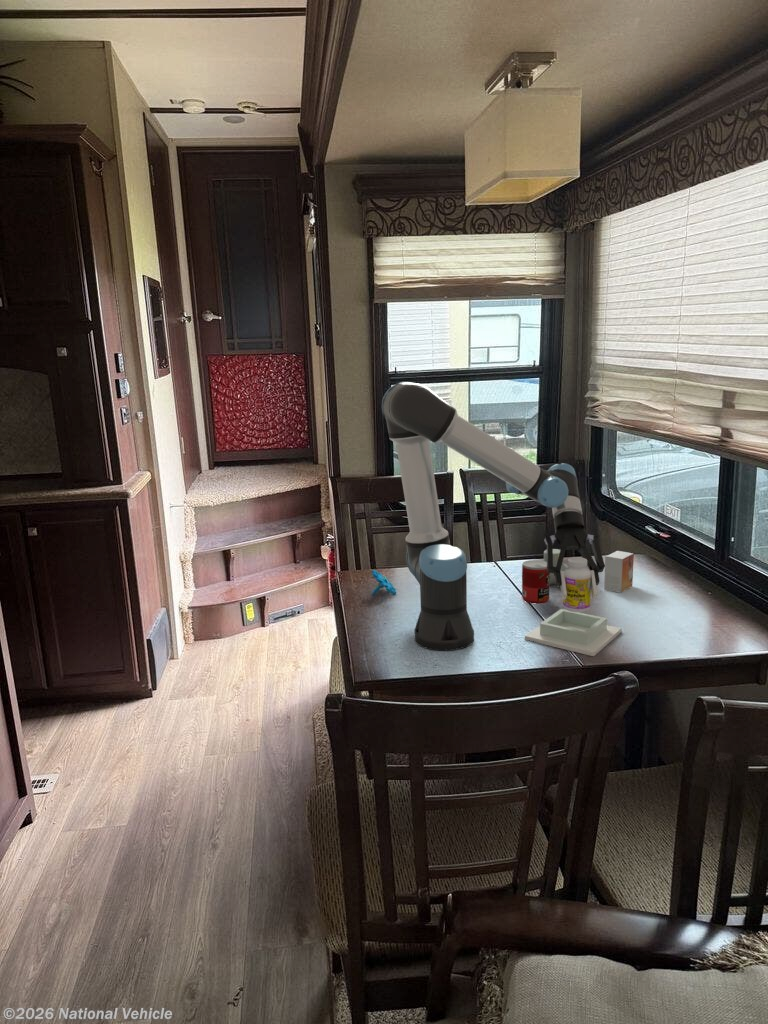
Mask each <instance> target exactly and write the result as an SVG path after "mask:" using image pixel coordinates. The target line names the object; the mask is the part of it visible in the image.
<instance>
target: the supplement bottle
mask: <svg viewBox="0 0 768 1024" xmlns="http://www.w3.org/2000/svg"><path fill="white" fill-rule="evenodd" d="M567 566H568V568H566V569H565V570H564V576H565V583H566V591H567V596H566V599H562V608H563V609H565V610H568V611H571V612H579V613H585V612H587V611H589V610H590V608H591V596H592V592H591V572H590V570H589V568H588V566H587V559H585V558H583V557H582V556H580V557H579V556H573V557H569V558H568V559H567Z"/></svg>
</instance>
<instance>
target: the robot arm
mask: <svg viewBox="0 0 768 1024" xmlns="http://www.w3.org/2000/svg"><path fill="white" fill-rule="evenodd" d="M457 410H458V409H457V408H456V407H454V406H453V405H451V404H449V403H448V402H447V401H445V400H443V398H441V397H440V396H439V395H437V394H436V393H435V392H434V391H432V389H430V388H429V387H427V386H426V385H424V384H421V383H416V382H412V381H401V382H397V383H395V384H394V385H392V386H391V387H389V388H388V389H387V391H386V392H385V393H384V395H383V398H382V401H381V411H382V412H381V413H382V415H383V417H384V419H385V420H386V427H387V433H388V437H389V440H390V441H392V442H393V443H394V444H395V445H396V451H397V457H398V464H399V470H400V478H401V483H402V490H403V495H404V496H403V497H404V502H405V509H406V513H407V521H408V522H407V523H408V527H409V533H407V535H406V537H405V544H406V552H405V554H406V555H405V561H406V566H407V569H408V571H409V572H410V573H411V574H412V576H413V577H414V578H415V579H416V581H417V582H418V584H419V591H420V593H419V596H420V597H419V598H420V599H419V600H420V612H419V615H418V619H417V621H416V625H415V628H414V642H415V643H416V644H417V645H418V646H420V647H422V648H425V649H428V650H433V651H455V650H461V649H463V648H467V647H469V646H471V644H473V643H474V641H475V630H474V628H473V625H472V621H471V618H470V616H469V613H468V609H467V608H468V607H467V606H468V604H467V602H468V599H467V597H468V596H467V593H468V592H467V591H468V589H467V588H468V587H467V586H468V585H467V569H468V563H467V558H466V557H467V556H466V554H465V552H464V551H463V550H462V549H461V548H460V547H457V546H453V545H451V541H450V535H449V531H448V530H447V529H445V528H444V527H443V526H442V519H441V513H440V506H439V505H440V504H439V498H438V491H437V485H436V479H435V472H434V471H435V470H434V465H433V457H432V452H431V446H430V444H431V443H430V442H432V443H434V444H437V443H442V444H443V445H445V446H447V448H450V449H452V450H453V451H455V452H457V453H458V454H460V455H461V456H463V457H464V458H466V459H468V460H469V461H471V462H473V463H474V464H477V466H479V467H481V468H483V469H484V470H486V471H487V472H489V473H491V474H492V475H494V476H496V477H497V478H499V479H500V480H502V481H503V482H505V487H506V491H508V493H512V494H514V495H515V494H516V495H521V496H526V497H527V498H529V499H531V500H533V501H535V502H537V503H539V504H541V505H542V506H544V507H548V508H550V509H551V510H552V517H553V526H554V534H553V535H549V534H546V535H545V536H544V541H543V542H544V545H545V547H546V550H547V572H548V573H553V574H554V576H555V579H556V584H555V585H556V586H557V587H560V592H561V599H562V600H563V599H566V596H567V591H566V583H565V576H564V571H561V572H560V569H561V566H562V562H563V563H564V558H565V554H566V551H570V550H576V551H577V552H578V553H579V554H580V557H581V558H585V559H587V566H586V567H587V569H588V570H589V571H590V572H591V597H592V599H593V600H596V599H597V597H598V589H597V588H598V587H597V586H598V585H599V584H600V576H599V573H602V572H603V571H605V560H604V558H603V555H602V551H601V548H600V544H599V534H598V533H594V535H593V534H589V533H588V532H587V531H586V526H585V520H584V516H583V509H582V503H581V500H580V497H581V496H580V492H579V485H578V483H579V481H578V478H577V473H576V471H575V468H574V467H573V466H572V465H570V464H568V463H563V462H562V463H560V464H558V463H556V464H554V465H551V466H550V467H549V468H548V470H546V469H544V468H542V467H540V466H539V465H537V464H535V463H534V462H533V461H531V460H529V459H528V458H526V457H525V456H523V455H521V454H520V453H518V452H516V450H513V448H511V447H509V446H507V445H505V444H504V443H503V442H501V441H500V440H498V439H497V438H495V437H493V436H492V435H490V434H489V433H487V432H485V431H484V430H483V429H480V428H479V427H478V426H476V425H474V424H472V423H471V422H469V421H468V420H466V419H465V418H464V417H461V416H460V415H459V414H458V411H457ZM555 541H556V542H557V544H558V545H560V549H559V550H560V554H559V557H558V561H557V565H556V567H554V566H553V549H554V547H553V546H554V543H555ZM586 541H588V543H589V544H590V545H591V550H592V554H593V557H594V559H593V557H592V555H591V553H590V552H589V549H588V548H587V545H586V543H585V542H586ZM592 599H591V600H592Z"/></svg>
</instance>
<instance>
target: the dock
mask: <svg viewBox="0 0 768 1024" xmlns="http://www.w3.org/2000/svg"><path fill="white" fill-rule="evenodd" d="M621 633H622V627H618V626H614V625H608V618H607V617H603V616H598V615H593V614H588V613H585V612H571V611H568V610H566V609H564V608H560V609H559V610H557V611H555V612H554V613H553V614H551V615H550V616H549V617H547V618H545V620H543V621H542V622H539V625H538V626H537V627H535V628H534V629H533V630H531V631H529V632H528V633H526V634H525V635H524V640H525V641H529V640H530V641H529V642H533V641H534V642H533V643H537V642H538V644H542V645H547V646H548V647H549V646H550V647H555V648H559V649H562V650H566V651H570V652H574V653H578V654H581V655H582V654H583V655H586V656H591V657H595V656H596V655H597V654H598V653H600V652H601V650H603V649H604V648H605V647H606V646H607V645H609V644H610V643H611V642H612V641H613V640H615V638H616V637H617V636H618V635H619V634H621Z"/></svg>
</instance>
